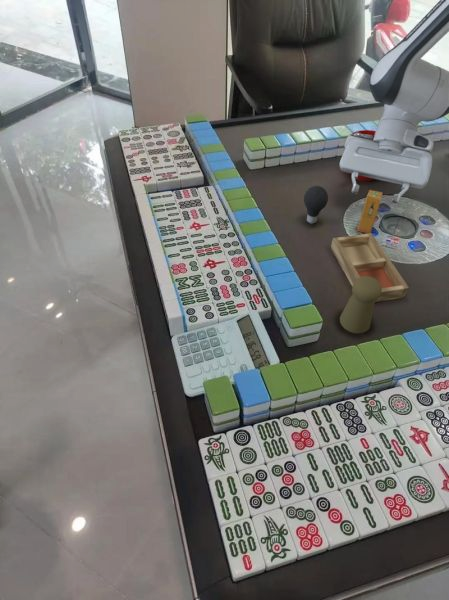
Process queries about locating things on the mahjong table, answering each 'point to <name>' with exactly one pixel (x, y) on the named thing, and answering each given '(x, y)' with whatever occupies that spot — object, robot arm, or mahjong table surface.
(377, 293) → the olive pawn figure
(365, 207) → the supplement box
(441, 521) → the mahjong table surface
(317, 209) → the light bulb
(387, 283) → the sorting tray
